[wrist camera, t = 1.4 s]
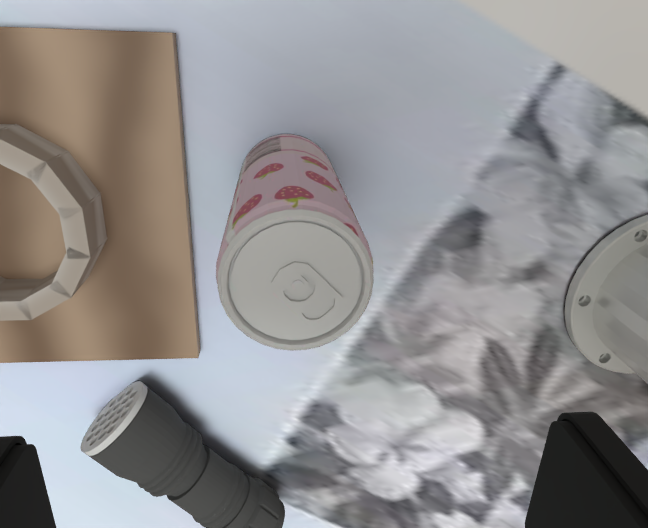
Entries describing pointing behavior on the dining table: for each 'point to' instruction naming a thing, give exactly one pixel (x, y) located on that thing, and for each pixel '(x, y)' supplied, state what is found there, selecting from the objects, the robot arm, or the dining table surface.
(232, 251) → the beverage can
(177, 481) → the flashlight
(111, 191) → the socket board
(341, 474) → the dining table surface
